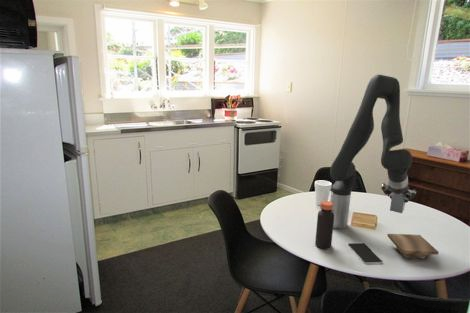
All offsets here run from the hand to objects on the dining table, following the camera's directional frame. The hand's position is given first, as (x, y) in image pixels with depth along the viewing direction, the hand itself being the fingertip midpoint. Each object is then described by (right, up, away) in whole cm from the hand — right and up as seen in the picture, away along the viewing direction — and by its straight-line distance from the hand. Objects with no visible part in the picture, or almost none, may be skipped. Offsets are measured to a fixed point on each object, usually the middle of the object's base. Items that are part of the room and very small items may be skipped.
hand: (399, 199), depth 141 cm
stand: (-1, -21, -11) cm, 24 cm away
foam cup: (-25, -8, +40) cm, 48 cm away
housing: (-1, -5, 0) cm, 5 cm away
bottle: (-37, -20, -6) cm, 42 cm away
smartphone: (-21, -22, -12) cm, 32 cm away
